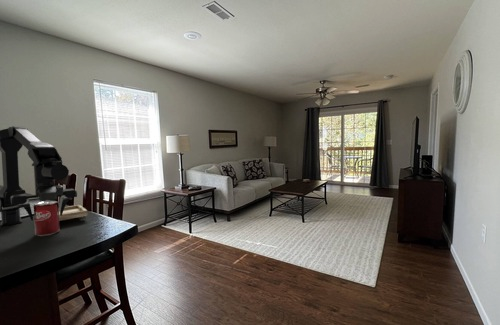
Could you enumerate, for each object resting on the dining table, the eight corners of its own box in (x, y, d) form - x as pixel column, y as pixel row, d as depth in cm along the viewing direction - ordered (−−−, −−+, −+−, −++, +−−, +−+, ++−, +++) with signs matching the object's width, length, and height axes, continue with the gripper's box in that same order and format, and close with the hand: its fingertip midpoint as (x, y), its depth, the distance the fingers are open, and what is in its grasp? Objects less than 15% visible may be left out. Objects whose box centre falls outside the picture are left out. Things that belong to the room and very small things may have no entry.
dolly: (42, 221, 104) (41, 210, 104) (80, 214, 115) (79, 204, 114) (47, 228, 95) (46, 217, 95) (87, 220, 105) (87, 210, 105)
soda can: (45, 237, 86) (43, 205, 85) (30, 235, 88) (28, 204, 87) (64, 230, 93) (63, 201, 93) (50, 229, 95) (48, 200, 94)
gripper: (10, 183, 77) (14, 229, 78) (79, 177, 90) (81, 217, 92) (9, 179, 84) (12, 221, 85) (72, 175, 98) (74, 211, 99)
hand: (47, 217), depth 90 cm, fingers open, 8 cm apart
